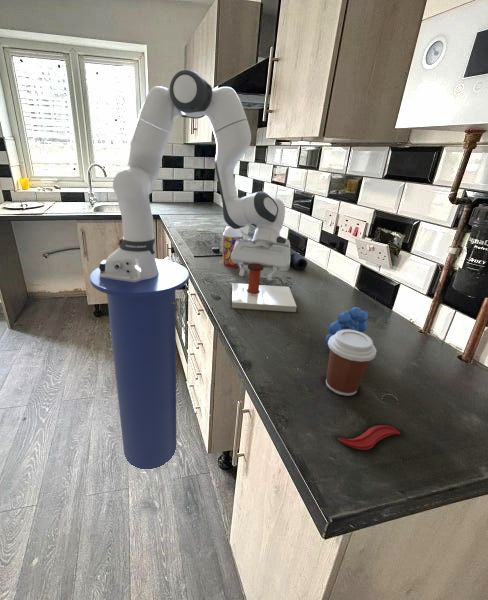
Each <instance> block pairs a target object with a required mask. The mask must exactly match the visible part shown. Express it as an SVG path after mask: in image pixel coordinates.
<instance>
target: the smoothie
mask: <svg viewBox="0 0 488 600" xmlns="http://www.w3.org/2000/svg"><path fill="white" fill-rule="evenodd" d="M243 236H244V234H243V232H242V230H241V228H239V229H234V228H232V227H230V226H229V225H228V226H226V228H225V229H224V231H223V232H222V264H223V266H224V267H226V268H232V269H233V268H236V267H238V264H236V263H233V262H232V260H231V253H232V251H233V249H234V244H235V242H236V241H237V240H240V239H243Z"/></svg>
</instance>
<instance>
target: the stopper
mask: <svg viewBox="0 0 488 600" xmlns="http://www.w3.org/2000/svg"><path fill="white" fill-rule="evenodd" d="M247 269H248V270H249V276H248V283H247V284H248V293H251V294H257V293H258V291H259V285H260V283H261V282H260V280H261V272H262V271H263V270H264V269H265V268H264V266H263V265H261V264H255V263H253V264H249V265H247Z"/></svg>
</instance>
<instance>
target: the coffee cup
mask: <svg viewBox="0 0 488 600" xmlns="http://www.w3.org/2000/svg"><path fill="white" fill-rule="evenodd" d="M327 345H328V348H329V355H328V362H327V370H326V377H325V385H326V386H327V387H328V389H329V390H331V392H333V393H335V394H338V395H339V396H341V395H342V396H346V397H348V396H353V395H355V394H357V393H358V389H359V387H360V384H361V382H362V379H363V377H364V375H365V373H366V370H367V368H368V365H369V363H370V361H372V360H374V359H375V358H376V356H377V352H378V351H377V348H376V347H375V345H374V342H373V339H372V338H371V337H370V336H369V335H367V334H366V333H363V332H359V331H355V330H348V329H346V330H340V331H338V332H337V333H336V334H335V335H333V336H331V337H330V339H329V340H328V344H327Z"/></svg>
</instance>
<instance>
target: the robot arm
mask: <svg viewBox="0 0 488 600" xmlns="http://www.w3.org/2000/svg"><path fill="white" fill-rule="evenodd" d="M169 84H170V85H169V88H168V87H165V86H162V85H156V86H155V85H154V86H152V87H151V88H150V89H149V91H148V93H147V95H146V97H145V98H144V101H143V103H142V104H141V105H142V106H141V108H140V110H139V114H138V118H137V120H136V123H135V126H134V130H133V133H132V137H131V140H130V149H129V150H130V151H129V156H128V162H127V166H126V167H124V168H123V167H122V169H120V170H119V171H118V172H117V173H116V174H115V176H114V178H113V181H112V189H113V191H114V194H115V196H116V199H117V204H118V207H119V210H120V215H121V222H122V223H121V224H122V236H121V237H120V239H118V241H117V245H118V248H117V249H116V250H114V251H113V252H112V253H111V254H109V255H108V256H107V258H106V259H102V260H101V261H100V263H99V266H98V267H99V269H100V277H102V278H108V279H115V280H122V281H129V282H138V281H141V280H146V279H150V278H154V277H156V276H157V275H158V274H159V270H158V267H157V264H156V259H157V258H156V247H157V246H156V238H155V235H154V233H155V232H154V216H153V213H152V209H151V208H152V207H151V201H150V195H151V194H152V193H153V191H154V189H155V186H156V182H157V180H158V177H159V172H160V168H161V164H162V160H163V157H164V153H165V151H166V148H167V145H168V142H169V139H170V136H171V133H172V131H173V128H174V125H175V123H176V121H177V119H178V118H179V117H181V118H186V119H187V118H188V119H195V120H196V119H202V118H203V117H206V118H207V119H208V121H209V123H210V126H211V128H212V132H213V135H214V138H215V144H216V154H215V157H214V169H215V173H216V179H217V183H218V189H219V193H220V198H221V203H222V215H223V216H222V217H223V220H224V221H225V223H226V224H227V225H228V226H230V227H232V228H234V229H239V228H240V229H241V228H245V227H247V226H250V225H255V226H256V227H255V229H254V233H253V236H252V239H245V238H242V239H240V240H237V241H236V242H235V244H234V249H233V251H232V253H231V260H232V262H233V263H236V264H237V265H238V266H239V273H238V274H239V276H241V277H244V276H245V274H246V270H245V269H244V267H245V266H248V265H249V264H253V263H255V264H261V265H263V266H264V269H268V270H272V271H271V273H267V275H266V281H270V282H272V280H273V277H274V276H275V275H276V274H278V271H281V272H287V271H289V270H290V267H291V265H290V249H291V242H290V239H288V238H286V237H284V236H281V234H280V232H281V231H282V229H283V226H284V221H285V216H286V207H285V204H284V202H283V201H282V200H281V199H279V198H277V197H272V196H270V194H268V193H266V192H264V191H256V192H253V193H251V194H247V195H245V196H242V197H239V196H238V192H237V187H236V181H235V177H234V176H235V175H234V172H235V168H236V166H237V164H238V162H239V161H240V160H241V159H242V158H243V157H244V156H245V155H246V153H247V151H248V149H249V148H250V145H251V142H252V131H251V128H250V124H249V121H248V118H247V115H246V112H245V109H244V106H243V104H242V102H241V99H240V97H239V96H238V94H237V92H236V90H235V89H234V88H232V87H231V86H221V87H218V88H215V89H213V87H212V85H211V84H210V83H209V82H208V81H207V80H205V78H204V77H203V76H202V75H200V74H199V73H198V72H196V71H195V70H192V69H181V70H179V71H178V72H176V73H175V75H173V77H172V78H171V81H170V83H169Z"/></svg>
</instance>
